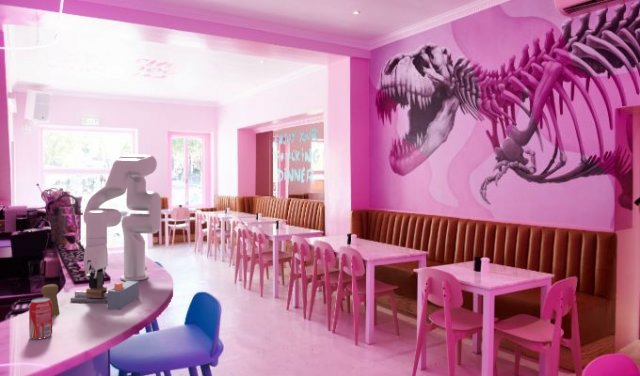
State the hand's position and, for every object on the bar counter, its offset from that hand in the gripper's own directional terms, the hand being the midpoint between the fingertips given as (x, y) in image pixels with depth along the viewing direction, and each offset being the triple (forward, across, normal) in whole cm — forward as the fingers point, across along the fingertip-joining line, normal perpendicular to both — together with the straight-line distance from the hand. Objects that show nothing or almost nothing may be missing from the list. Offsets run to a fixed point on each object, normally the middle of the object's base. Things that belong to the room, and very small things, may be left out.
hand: (96, 285), depth 179 cm
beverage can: (+6, +38, +4) cm, 39 cm away
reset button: (+3, +6, +12) cm, 14 cm away
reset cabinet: (+6, +2, +12) cm, 14 cm away
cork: (+6, +18, -7) cm, 20 cm away
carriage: (+4, 0, 0) cm, 4 cm away
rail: (+6, 0, 0) cm, 6 cm away
